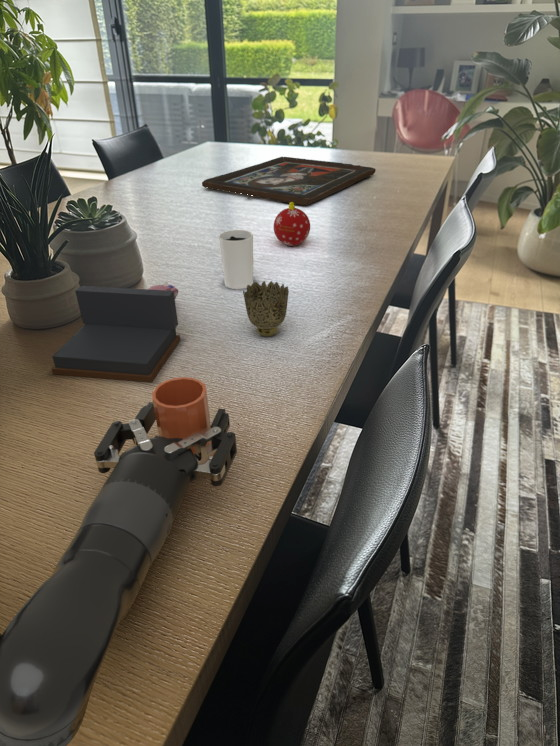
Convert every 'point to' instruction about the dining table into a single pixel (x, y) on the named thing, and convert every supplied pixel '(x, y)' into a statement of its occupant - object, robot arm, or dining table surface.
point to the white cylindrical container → (237, 258)
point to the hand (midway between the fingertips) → (188, 411)
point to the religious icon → (290, 179)
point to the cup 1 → (181, 408)
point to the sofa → (120, 334)
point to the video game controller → (165, 288)
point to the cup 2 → (266, 306)
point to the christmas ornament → (291, 226)
